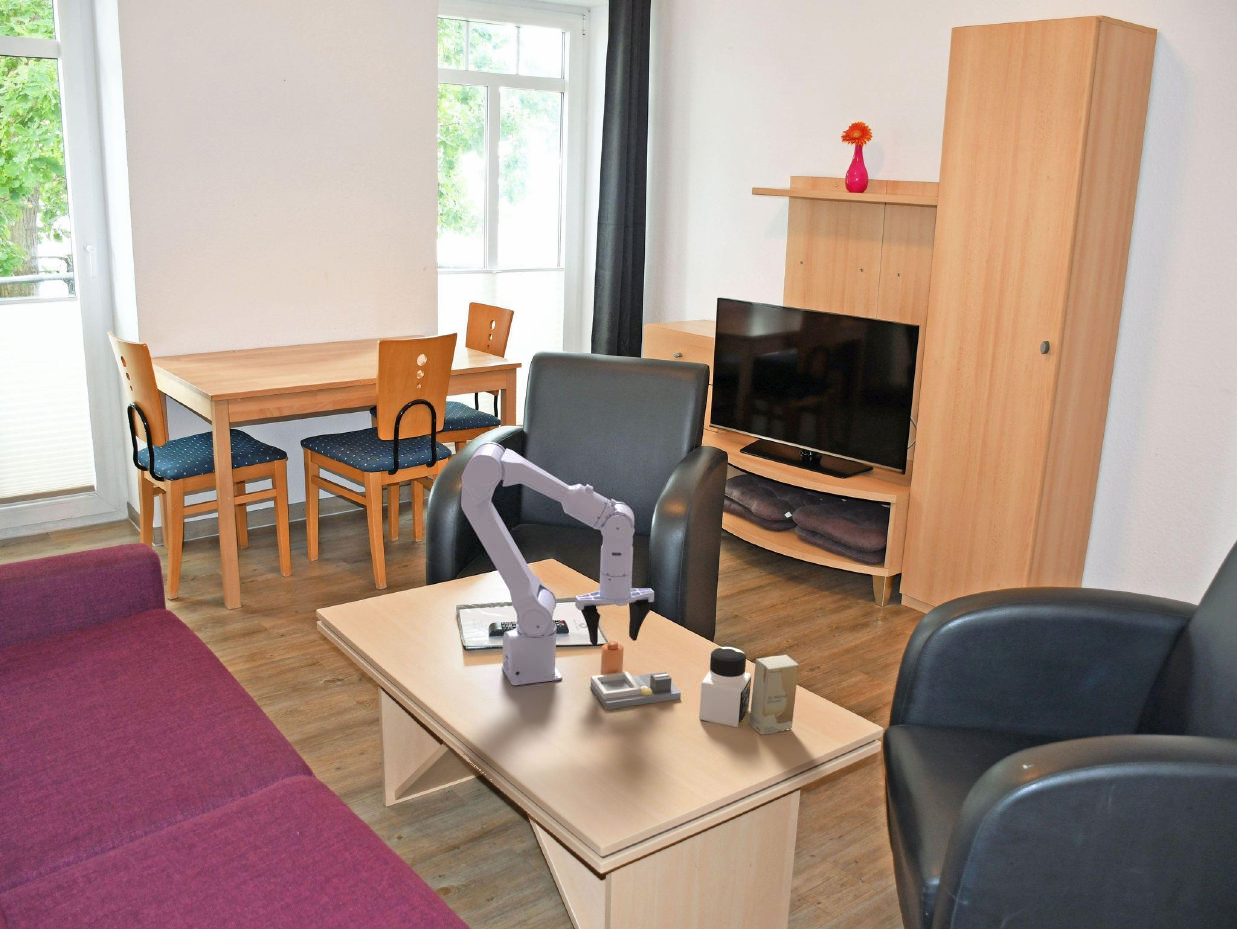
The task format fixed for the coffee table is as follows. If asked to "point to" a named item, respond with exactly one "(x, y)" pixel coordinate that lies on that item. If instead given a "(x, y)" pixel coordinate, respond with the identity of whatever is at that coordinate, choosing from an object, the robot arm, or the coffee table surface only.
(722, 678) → the medicine bottle
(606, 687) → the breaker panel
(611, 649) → the orange bottle
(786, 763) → the coffee table surface
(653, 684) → the block
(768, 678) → the skincare box
